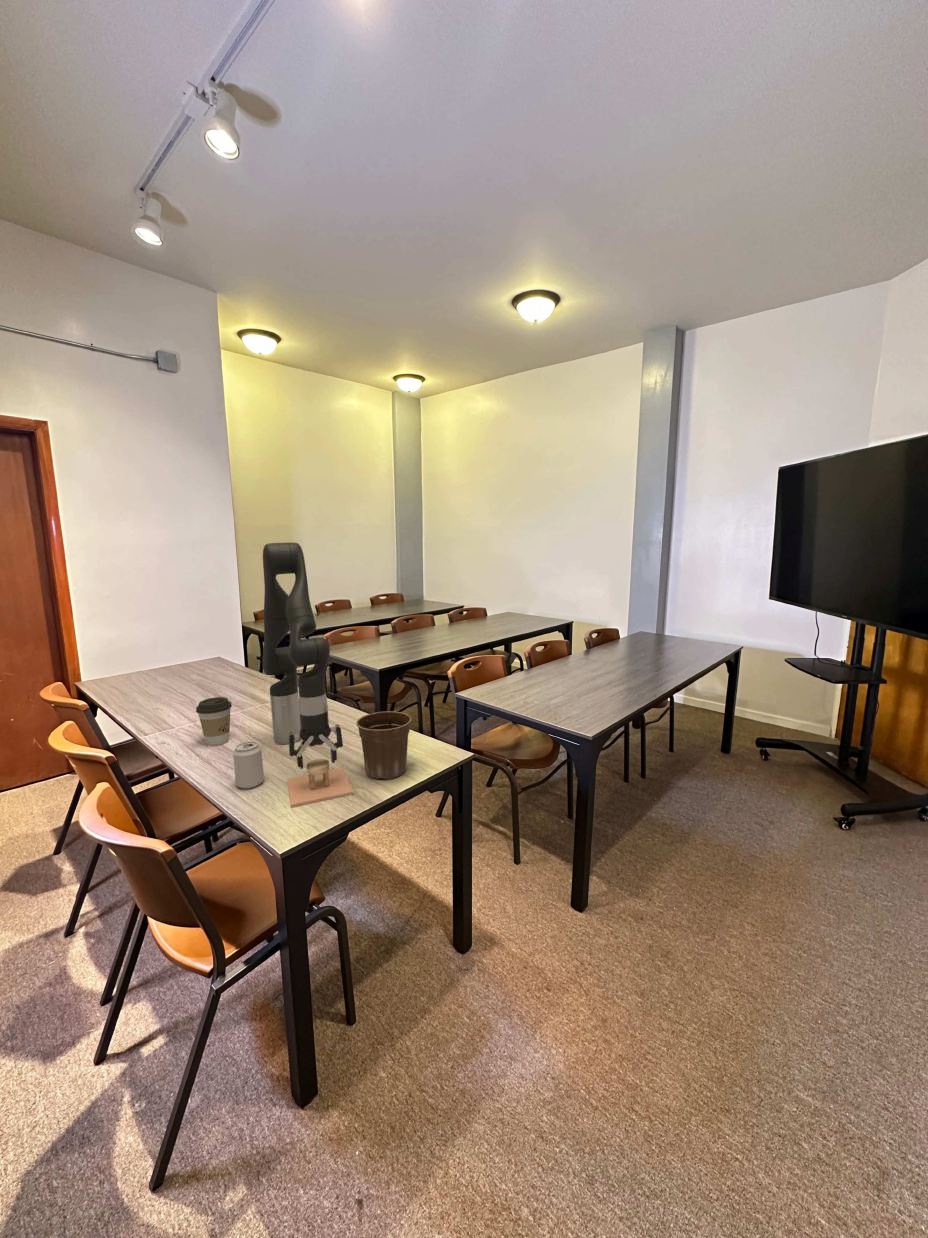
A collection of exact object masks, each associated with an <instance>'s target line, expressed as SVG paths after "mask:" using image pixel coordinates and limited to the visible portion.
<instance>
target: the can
mask: <svg viewBox="0 0 928 1238" xmlns="http://www.w3.org/2000/svg"><path fill="white" fill-rule="evenodd" d="M232 756H233V757H232V758H233V766H234V775H235V785H236V786H237V787H239V788H240V789H242V790H243V789H244V790H249V789H254V788H257V787H259V786H260V785H262V783H263V782H264V780H265V774H264V762H263V751H262V746H261V745H259V742H258V741H255V740H249V741H243V742H240V743H237V744H236V745H235V746H234V750H233V752H232Z"/></svg>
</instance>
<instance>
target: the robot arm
mask: <svg viewBox="0 0 928 1238" xmlns="http://www.w3.org/2000/svg"><path fill="white" fill-rule="evenodd" d="M262 566H263V581H264V582H263V583H264V584H263V585H264V595H263V597H264V598H263V600H264V601H263V632H264V633H263V634H264V638H263V639H264V640H263V649H262V668H263V671H264V673H265V674H266V676H278V675H285V676H283V678H282V679H280V680H278V681H277V682H275V683H273V684H271V685H270V687H269V698H270V707H271V709H270V710H271V719H272V721H271V722H272V733H273V741H274V743H275V744H277V745H288V749H289V750H288V753H289V756H291V757H293V756H294V757H296V763H297V767H298V768H300V770H303V769H304V759H303V758H304V757H303V753H304V752H305V751H306V750H307V748H308V747H311V748H312V747H315V746H323V744H325V745H326V746H328V747H329V748H330V759H331V763H332V764H334V763H335V761H337V760H338V754H337V753H338V752H337V749H339V748H342V747H343V745H344V744H343V735H342V728H341V726H340V724H335V726H330V721H329V720H330V719H329V710H328V709H329V705H328V697H327V692H326V691H327V689H326V673H327V667H328V664H329V660H330V659H329V658H330V653H331V648H330V647H331V646H330V644H329V642H328V641H327V640H326V638H324V637H314V638H313V637H311V638H305V639H302V638H304V637H307V636H309V635H311V634H313V633H314V632H315V631H316V629H317V624H316V618H315V616H314V612H313V609H312V604H311V601H310V595H309V584H308V575H307V569H306V562H305V555H304V552H303V548H302V546H301V545H300V544H299V542H272V543H270V542H269V543H266V544H265V545H264V546H263V548H262ZM290 574H291V575H293V574H294V577H295V579H294V585H293V586H292V589H291V591H290V593H289V594H288V593H287V592H286V591H285V590H284V588H282V586H281V585H280V583H279V582H278V579H277V576H278V575H290ZM287 634H289V646H285V647H283V646H282V647H278V645H279V643H280V642H281V641H282V640H283V639H284V638H285V637H286V636H287ZM311 665H314V666H313V667H312V668H311V669H310V670H308V671H305V672H303V673H301V674H300V675H299V676H298V667H303V666H311ZM331 733H333V734H334V735H336V742H333V741H332V739H330V737H329V736H330V735H331ZM300 740H301V742H300V744H299V746H298V748H297V749H295V743H297V742H299V741H300Z"/></svg>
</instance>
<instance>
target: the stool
mask: <svg viewBox="0 0 928 1238" xmlns="http://www.w3.org/2000/svg"><path fill="white" fill-rule="evenodd" d="M329 770H330V762H329V760H328V759H326V758H317V759H312V760H310V761H308V762H307V763H306V772H307V775H308V774H309V784H310V786H311V790H315V778H314V775H320V774H323V781H325V787H329V774H328V771H329Z"/></svg>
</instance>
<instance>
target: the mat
mask: <svg viewBox="0 0 928 1238" xmlns="http://www.w3.org/2000/svg"><path fill="white" fill-rule="evenodd" d="M328 774H329V787H325V781H323V774H320V775H314V778H315V790H311V786H310V784H309V774H308V773H307V774H305V775H299V776H295V777H294V776H293V777H287V786H288V792H289V801H290V808H297V807H300V806H305V805H309V804H315V803H319V802H324V801H328V800H332V799H333V800H334V799H338V798H343V797H348V796H351V795H353V794H354V791H353V789H352V786H351V784H350V782H349V779H348V777H347V773H346V772H345V768H344V767H340V768H334V769H329V770H328Z"/></svg>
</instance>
